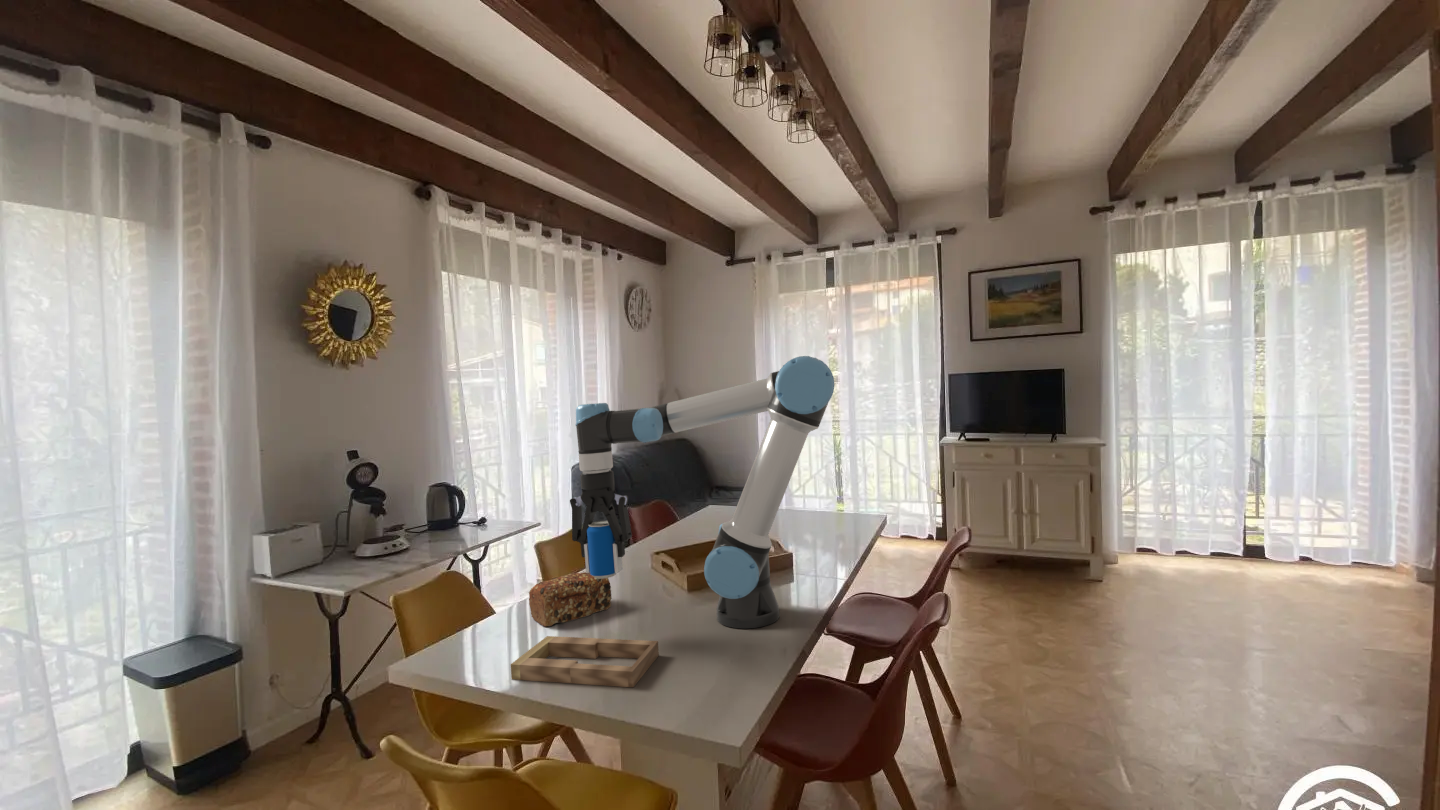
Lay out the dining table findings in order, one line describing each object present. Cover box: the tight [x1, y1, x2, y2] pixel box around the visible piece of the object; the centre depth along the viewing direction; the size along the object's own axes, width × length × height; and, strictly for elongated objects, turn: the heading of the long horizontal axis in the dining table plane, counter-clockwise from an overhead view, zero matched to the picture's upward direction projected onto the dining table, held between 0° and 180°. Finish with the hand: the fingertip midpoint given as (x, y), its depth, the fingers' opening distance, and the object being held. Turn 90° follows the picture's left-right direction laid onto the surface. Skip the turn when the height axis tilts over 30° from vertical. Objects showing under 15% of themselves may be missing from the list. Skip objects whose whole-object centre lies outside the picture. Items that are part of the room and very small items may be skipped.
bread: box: [528, 571, 613, 628], centre depth 156 cm, size 19×11×10 cm, turn 129°
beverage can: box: [587, 520, 617, 579], centre depth 139 cm, size 6×6×12 cm
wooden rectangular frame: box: [510, 635, 660, 688], centre depth 124 cm, size 26×14×3 cm, turn 76°
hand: (604, 570), depth 139 cm, fingers closed on beverage can, 6 cm apart
